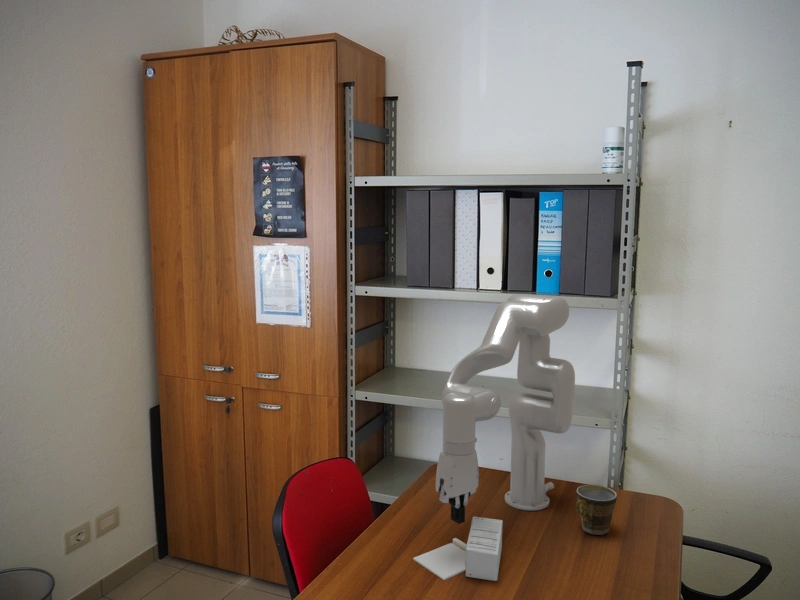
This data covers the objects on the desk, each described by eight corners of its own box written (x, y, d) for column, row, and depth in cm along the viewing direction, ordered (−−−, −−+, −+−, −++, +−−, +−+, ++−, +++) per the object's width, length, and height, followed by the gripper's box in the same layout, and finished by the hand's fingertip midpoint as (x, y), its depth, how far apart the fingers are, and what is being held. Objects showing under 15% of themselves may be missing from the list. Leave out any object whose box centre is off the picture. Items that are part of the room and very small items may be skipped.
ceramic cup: (591, 516, 170) (592, 481, 169) (623, 531, 162) (625, 494, 161) (559, 529, 163) (561, 493, 161) (591, 545, 155) (593, 507, 153)
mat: (451, 544, 155) (451, 542, 155) (482, 563, 146) (482, 561, 146) (413, 559, 148) (413, 557, 148) (443, 580, 139) (443, 578, 139)
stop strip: (455, 542, 156) (455, 537, 156) (487, 561, 147) (487, 556, 147) (452, 543, 155) (452, 539, 155) (484, 562, 147) (484, 557, 146)
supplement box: (502, 545, 150) (497, 582, 139) (471, 540, 152) (464, 577, 141) (503, 519, 148) (498, 555, 137) (472, 515, 150) (464, 550, 138)
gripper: (471, 435, 153) (469, 507, 155) (423, 448, 144) (423, 524, 146) (493, 444, 147) (491, 518, 149) (445, 457, 138) (444, 536, 140)
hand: (457, 520), depth 148 cm, fingers closed
